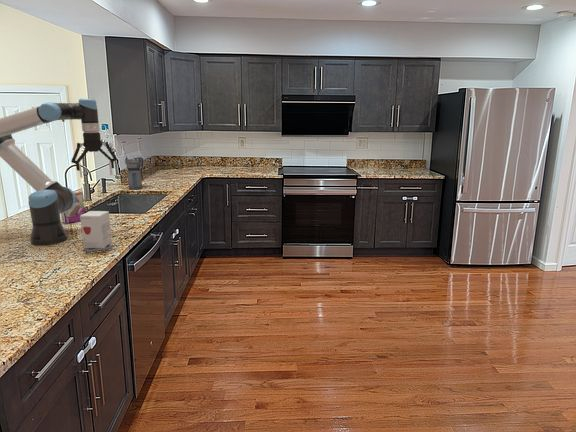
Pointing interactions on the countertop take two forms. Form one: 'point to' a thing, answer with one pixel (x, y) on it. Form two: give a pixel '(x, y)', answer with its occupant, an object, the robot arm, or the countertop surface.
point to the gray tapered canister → (134, 173)
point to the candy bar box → (74, 209)
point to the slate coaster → (98, 249)
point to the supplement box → (96, 229)
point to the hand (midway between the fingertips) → (96, 176)
